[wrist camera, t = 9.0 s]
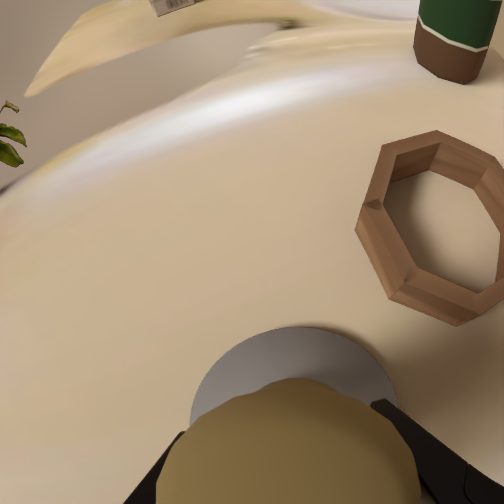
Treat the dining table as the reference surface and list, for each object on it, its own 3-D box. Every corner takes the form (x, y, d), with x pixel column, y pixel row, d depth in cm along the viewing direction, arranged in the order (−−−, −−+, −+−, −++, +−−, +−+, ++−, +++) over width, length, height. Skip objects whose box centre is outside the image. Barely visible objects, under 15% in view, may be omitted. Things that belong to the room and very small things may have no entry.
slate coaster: (419, 470, 13) (422, 473, 12) (230, 534, 13) (228, 538, 12) (353, 299, 17) (355, 296, 17) (169, 365, 17) (165, 364, 17)
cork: (271, 355, 15) (215, 287, 5) (380, 409, 13) (523, 434, 3) (208, 455, 13) (64, 535, 3) (315, 510, 11) (330, 663, 1)
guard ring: (531, 274, 16) (555, 257, 13) (411, 351, 15) (431, 344, 13) (454, 148, 20) (467, 122, 18) (331, 188, 20) (334, 159, 17)
